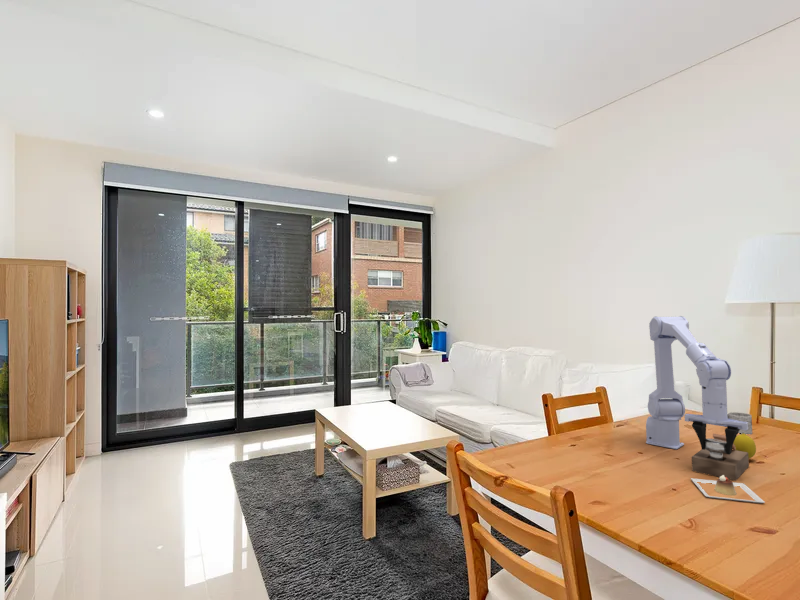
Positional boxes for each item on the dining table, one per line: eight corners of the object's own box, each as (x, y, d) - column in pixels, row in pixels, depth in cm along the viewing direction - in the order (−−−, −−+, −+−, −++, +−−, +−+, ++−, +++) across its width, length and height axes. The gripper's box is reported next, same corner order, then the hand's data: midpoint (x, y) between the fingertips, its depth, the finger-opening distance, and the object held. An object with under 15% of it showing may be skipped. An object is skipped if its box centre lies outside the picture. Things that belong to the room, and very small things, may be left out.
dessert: (743, 487, 112) (743, 468, 113) (765, 507, 101) (764, 486, 101) (690, 482, 116) (689, 464, 116) (705, 500, 105) (704, 480, 105)
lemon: (760, 463, 128) (759, 436, 128) (739, 462, 129) (738, 435, 130) (749, 457, 134) (748, 431, 134) (729, 456, 135) (728, 430, 135)
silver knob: (702, 462, 122) (702, 441, 122) (707, 458, 126) (707, 437, 126) (725, 467, 118) (724, 445, 118) (730, 462, 122) (729, 441, 122)
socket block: (692, 470, 123) (691, 456, 123) (707, 458, 134) (707, 445, 134) (735, 480, 115) (735, 465, 116) (748, 466, 126) (748, 452, 126)
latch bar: (719, 447, 131) (719, 444, 132) (735, 450, 128) (735, 447, 129) (712, 436, 127) (713, 433, 128) (729, 438, 124) (729, 436, 125)
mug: (757, 434, 158) (756, 416, 158) (738, 434, 158) (738, 416, 159) (736, 427, 168) (735, 410, 168) (718, 427, 168) (718, 410, 169)
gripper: (680, 400, 125) (682, 448, 125) (743, 408, 114) (745, 460, 114) (688, 397, 130) (689, 443, 130) (749, 404, 119) (751, 454, 119)
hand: (716, 451), depth 122 cm, fingers closed on silver knob, 5 cm apart
